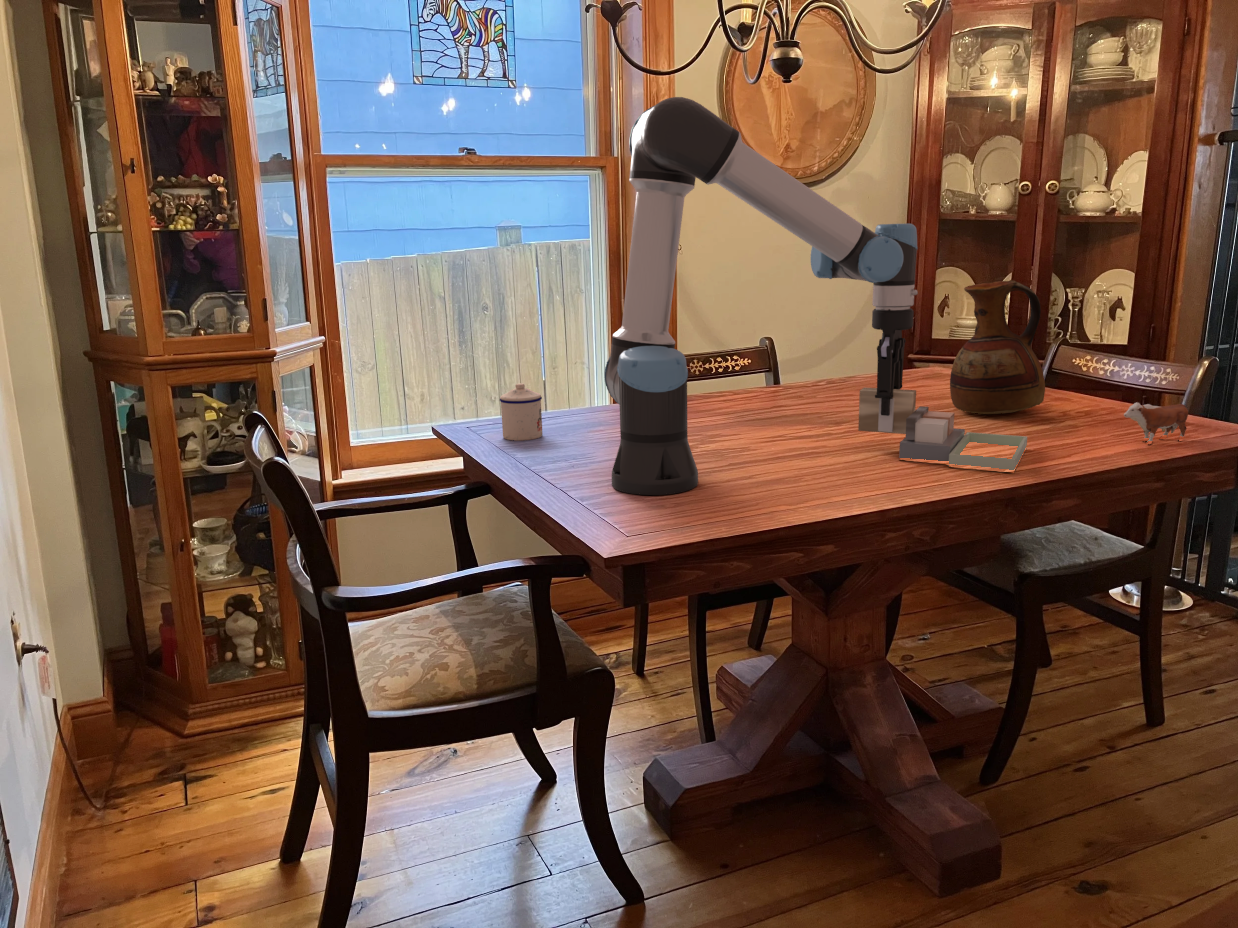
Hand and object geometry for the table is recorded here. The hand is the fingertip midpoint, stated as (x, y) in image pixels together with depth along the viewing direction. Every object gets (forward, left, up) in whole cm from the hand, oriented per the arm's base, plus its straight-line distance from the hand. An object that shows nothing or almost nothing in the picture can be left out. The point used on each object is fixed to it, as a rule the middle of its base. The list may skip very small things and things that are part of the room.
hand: (888, 428), depth 185 cm
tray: (0, -19, -4) cm, 19 cm away
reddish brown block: (+3, -9, -1) cm, 9 cm away
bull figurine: (+25, -46, -4) cm, 53 cm away
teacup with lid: (-15, +76, -4) cm, 78 cm away
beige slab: (0, 0, 0) cm, 1 cm away
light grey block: (-4, -9, -1) cm, 10 cm away
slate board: (0, -9, -4) cm, 10 cm away
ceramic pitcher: (+45, -14, -4) cm, 47 cm away
